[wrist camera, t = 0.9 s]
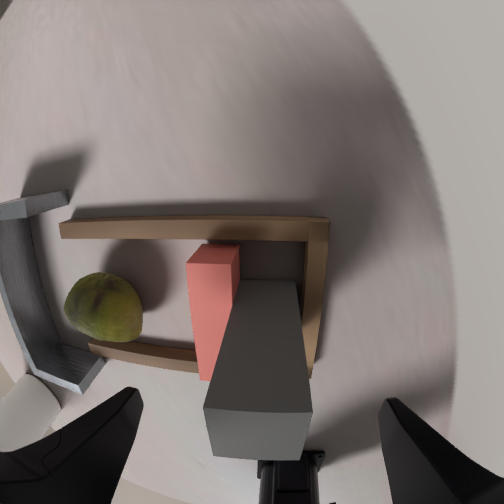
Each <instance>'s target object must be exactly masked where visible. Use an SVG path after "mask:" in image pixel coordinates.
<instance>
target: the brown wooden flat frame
mask: <svg viewBox="0 0 504 504" xmlns="http://www.w3.org/2000/svg"><path fill="white" fill-rule="evenodd" d="M59 228H60V235H61V239H211V240H266V241H306V244H305V261H304V275H303V288H302V300H301V312H300V318H301V325H302V332H303V339H304V346H305V353H306V361H307V368H308V376H309V378H311V375H312V369H313V364H314V358H315V352H316V345H317V339H318V332H319V325H320V318H321V310H322V302H323V294H324V285H325V276H326V266H327V255H328V243H329V230H330V222H329V221H328V220H327V218H326V217H298V216H250V215H181V216H134V217H107V218H85V219H70V220H67V221H64V222H61V223H59ZM88 345H89V348H90V351H91V353H92V354H95V355H99V356H104V357H108V358H112V359H117V360H121V361H126V362H131V363H136V364H141V365H146V366H152V367H158V368H164V369H171V370H177V371H185V372H193V373H199V369H198V362H197V355H196V350H187V349H179V348H171V347H163V346H156V345H149V344H143V343H137V342H131V341H129V342H113V341H105V340H103V341H102V340H97V339H94V338H92V339H91V340H90V341H89V342H88Z"/></svg>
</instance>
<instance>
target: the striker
mask: <svg viewBox="0 0 504 504" xmlns="http://www.w3.org/2000/svg"><path fill="white" fill-rule="evenodd" d="M186 270H187V281H188V291H189V301H190V310H191V318H192V326H193V334H194V341H195V348H196V355H197V362H198V369H199V375H200V380H204V381H210V385H209V388H208V392H207V395H206V399H205V402H204V406H203V410H204V415H205V420H206V425H207V429H208V434H209V439H210V443H211V447H212V452H213V456H219V457H228V458H239V459H253V460H300V457H301V454H302V450H303V447H304V443H305V440H306V436H307V433H308V429H309V425H310V421H311V417H312V413H313V410H312V401H311V393H310V384H309V376H308V368H307V361H306V353H305V346H304V339H303V332H302V325H301V318H300V311H299V305H298V298H297V292H296V286H295V281H272V280H240V253H239V245H236V244H202V245H201V246H200V247H199V248H198V250H197V251H196V252H195V253H194V254H193V255H192V257H191V258H190V259H189V260H188V261H187V262H186Z"/></svg>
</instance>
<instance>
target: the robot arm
mask: <svg viewBox="0 0 504 504" xmlns="http://www.w3.org/2000/svg"><path fill="white" fill-rule="evenodd" d="M143 406H144V405H143V400H142V398H141V395H140V392H139V390H138V389H137V388H133V387H126V388H124V389H123V390H121V391H120V392H118V393H117V394H115V395H114V396H112V397H111V398H109V399H107V400H106V401H104V402H103V403H101V404H100V405H98V406H96V407H95V408H93V409H92V410H90V411H89V412H87V413H85V414H84V415H82V416H81V417H79V418H77V419H76V420H74V421H72V422H71V423H69V424H67V425H66V426H64V427H62V429H59V430H57V431H56V432H54V433H52V434H50V435H48V436H47V437H45V438H43V439H41V440H38V441H36V442H34V443H32V444H29V445H27V446H24V447H22V448H19V449H17V450H14V451H10V452H0V504H111V501H112V498H113V496H114V493H115V490H116V487H117V485H118V482H119V479H120V477H121V474H122V471H123V469H124V466H125V463H126V461H127V458H128V456H129V453H130V451H131V448H132V446H133V443H134V440H135V437H136V433H137V430H138V426H139V422H140V418H141V414H142V411H143ZM378 418H379V426H380V435H381V444H382V452H383V456H384V461H385V466H386V470H387V475H388V480H389V485H390V490H391V496H392V501H393V504H504V478H502V477H499V476H497V475H495V474H494V473H492V472H490V471H489V470H487V469H485V468H484V467H482V466H481V465H479V464H477V463H476V462H474V461H473V460H471V459H470V458H469V457H467V456H466V455H465V454H463V453H462V452H461V451H460V450H458V449H457V448H455V446H453V445H452V444H451V443H450V442H449V441H447V440H446V439H445V438H444V437H443V436H441V435H440V434H439V433H438V432H437V431H435V430H434V429H433V428H432V427H431V426H430V425H428V424H427V423H426V422H425V421H424V420H422V419H421V418H420V417H419V416H418V415H417V414H415V413H414V412H413V411H412V410H411V409H409V408H408V407H407V406H406V405H405V404H404V403H402V402H401V401H400V400H399V399H398V398H396V397H393V398H387V399H385V401H384V403H383V405H382V407H381V409H380V411H379V415H378ZM324 458H325V452H324V451H312V452H302V454H301V457H300V460H258V471H257V478H259V479H261V481H260V494H259V504H320V503H319V487H318V471H319V469H320V467H321V465H322V462H323V460H324ZM330 504H336V502H334V503H330Z"/></svg>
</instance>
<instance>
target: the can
mask: <svg viewBox="0 0 504 504" xmlns="http://www.w3.org/2000/svg"><path fill="white" fill-rule="evenodd" d="M60 410H61V409H60V403H59V401H58V399H57V398H56V396H55V395H54V393H53V392H52V391H51V390H50V389H49V388H48V387H47V386H46V385H45V384H44V383H43V382H42V381H41V380H40V379H38V378H37V377H35V376H33V375H30V374H25V375H24V376H23V377H22V378H21V379H20V380H19V381H18V382H17V383H16V384H15V385H14V386H13V387H12V388H11V389H10V391H9V392H8V393H7V394H6V395H5V396H4V397H3V398H2V399H1V401H0V452H10V451H14V450H17V449H19V448H22V447H24V446H27V445H29V444H32V443H34V442H36V441H38V440H41V439H42V437H43V436H44V434H45V433H46V431H47V430H48V428H49V427H50V425H51V424H52V423H53V421H54V420H55V418H56V417H57V415H58V414H59V413H60Z"/></svg>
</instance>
